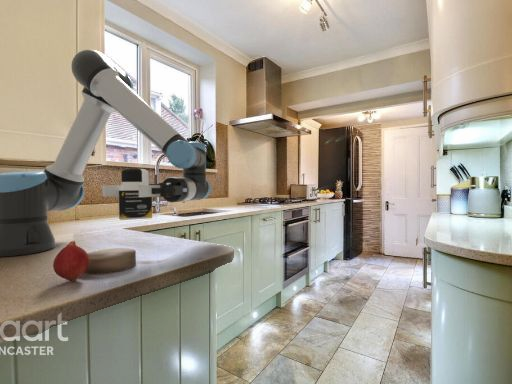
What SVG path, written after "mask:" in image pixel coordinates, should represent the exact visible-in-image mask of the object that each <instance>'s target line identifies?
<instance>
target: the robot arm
mask: <svg viewBox="0 0 512 384" xmlns="http://www.w3.org/2000/svg"><path fill="white" fill-rule="evenodd" d="M71 72H72V75H73V76H74V78H75V80H76V81H77V82H78V83H79V84H80V85H82V86H83V89H82V91H81V95H82V97H83V102H82V104H81V106H80V108H79V110H78V112H77V115H76V117H75V119H74V120H73V123H72V125H71V127H70V129H69V131H68V133H67V135H66V137H65V140H64V142H63V144H62V146H61V148H60V150H59V152H58V154H57V156H56V158H55V160H54V163H53V164H50V165H47V166H46V167H45V168H44V171H39V170H37V171H35V170H34V171H31V170H30V171H15V172H13V171H12V172H3V173H0V257H15V256H22V255H30V254H36V253H41V252H46V251H49V250H52V249H54V248H55V247H56V238H55V236H54V233H53V232H52V229H51V227H50V225H49V221H48V213H49V212H56V211H57V212H58V211H66V210H68V209H72V208H75V207H76V206H78V205H79V204H80V203H81V202H82V201H83V199H84V198H85V188H84V182H85V178H84V176H83V172H84V171H85V168H86V167H87V164H88V163H89V160H90V158H91V156H92V154H93V152H94V150H95V149H96V145H97V144H98V141H99V139H100V137H101V136H102V133H103V132H104V129H105V127H106V125H107V123H108V122H109V119H110V116H111V115H112V113H116V112H117V113H118V114H119V115H121V116H122V117H123V118H124V119H125V120H126V122H128V123H130V125H132V126H133V127H134V128H135V129H136V130H137V131H138V132H139V133H140V134H141V135H142V136H144V137H145V138H146V139H147V140H148V141H149V142H150V143H151V144H152V145H154V146H155V147H156V148H157V149H158V150H159V151H160V152H162V154H163V155H164V156H165V157H166V158H167V160H168V163H170V164H171V165H173V166H174V167H175V168H178V169H181V170H182V169H183V170H182V171H183V177H182V176H181V177H179V176H170V177H167V178H165V179H163V181H162V182H157V183H149V185H139V197H152V198H153V197H154V198H155V197H161V198H163V200H165V201H166V202H167V203H168V202H169V203H177V202H179V203H180V202H181V203H183V204H185V203H186V202H189V201H200V200H204V199H207V198H208V197H209V196H210V194H211V191H212V186H211V183H210V181H209V180H207V175H206V174H207V173H206V171H207V166H206V165H207V150H206V145H205V143H203V142H199V141H188V140H187V139H185V137H184V136H182V135H181V134H180V133H179V132H178V131H177V130H176V129H175V128H174V127H173V126H171V124H169V122H168V121H166V120H165V119H164V118H163V117H162V116H161V115H160V114H159V113H158V112H157V111H155V109H153V108H152V107H151V106H150V105H149V104H148V103H146V101H144V99H143V98H141V96H139V95H138V94H137V93H136V92H135V91H134V84H133V81H132V79H131V78H130V76H129V75H128V73H126V71H125V70H124V69H122V68H121V67H120V66H119V65H117V64H116V63H115V62H113V61H112V60H111V59H110V58H109V57H107V55H105V54H104V53H102V52H100V51H98V50H95V49H94V50H93V49H84V50H80V51H78V52H77V53H75V55H74V57H73V59H72V60H71ZM122 188H123V185H122V184H120V185H119V184H117V185H116V184H115V185H114V184H113V185H112V184H109V185H107V184H102V197H103V198H105V197H107V198H108V197H119V189H122Z"/></svg>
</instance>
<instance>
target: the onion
mask: <svg viewBox="0 0 512 384" xmlns="http://www.w3.org/2000/svg"><path fill="white" fill-rule="evenodd" d="M86 251H87V250H85V249H83V248H82V247H81V246H79V245H76V241H75V240H71V241H69V243H68V244H66V246H64V247H63V248H62V249H61V250H60V251H59V252H58V253H57V254H56V256H55V257H54V260H53V264H52V267H53V272H54V273H55V274H56V275H57V276H58V277H59V278H61V279H64V280H67V281H68V282H75V281H77V280H78V279H79V278H80V277H81V276H82V275H84V274H85V273H84V272H85V271H86V269H87V267H88V265H89V256H88V254H87V253H88V252H86Z"/></svg>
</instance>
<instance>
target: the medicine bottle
mask: <svg viewBox="0 0 512 384" xmlns="http://www.w3.org/2000/svg"><path fill="white" fill-rule="evenodd" d="M149 179H150V178H149V171H148V170H147V169H145V168H133V167H132V168H124V169H122V171H121V185H123V188H122V189H119V196H118V219H119V220H120V221H125V220H145V219H146V220H147V219H149V220H150V219H152V218H153V197H139V185H149V184H150V183H149V182H150V180H149Z"/></svg>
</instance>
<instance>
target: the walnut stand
mask: <svg viewBox="0 0 512 384" xmlns="http://www.w3.org/2000/svg"><path fill="white" fill-rule="evenodd" d="M86 253H87V254H88V256H89V265H88V267H87V269H86V271H85V272H84V273H83V274H88V275H105V274H106V275H107V274H114V273H117V272H118V273H119V272H123V271H127V270H128V269H131V268H133V267H135V266H136V265H137V252H136V250H135V249H133V248H125V247H123V248H121V247H118V248H117V247H116V248H105V249H100V250H95V251H91V252H86Z"/></svg>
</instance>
